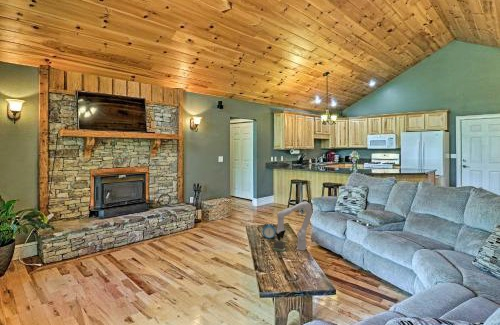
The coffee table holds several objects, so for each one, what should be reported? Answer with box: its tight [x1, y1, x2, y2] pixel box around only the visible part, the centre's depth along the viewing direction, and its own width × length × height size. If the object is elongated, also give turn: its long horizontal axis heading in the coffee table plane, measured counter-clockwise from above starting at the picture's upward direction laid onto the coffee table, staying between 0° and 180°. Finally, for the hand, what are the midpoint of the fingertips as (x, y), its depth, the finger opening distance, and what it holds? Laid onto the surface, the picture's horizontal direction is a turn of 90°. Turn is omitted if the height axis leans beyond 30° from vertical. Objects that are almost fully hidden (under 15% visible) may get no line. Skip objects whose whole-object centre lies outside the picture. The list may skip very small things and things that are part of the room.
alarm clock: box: [262, 223, 277, 239], centre depth 297 cm, size 13×6×15 cm, turn 88°
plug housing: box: [271, 240, 286, 250], centre depth 263 cm, size 4×12×6 cm, turn 62°
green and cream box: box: [272, 247, 287, 253], centre depth 262 cm, size 8×10×5 cm
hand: (280, 239), depth 264 cm, fingers open, 7 cm apart
